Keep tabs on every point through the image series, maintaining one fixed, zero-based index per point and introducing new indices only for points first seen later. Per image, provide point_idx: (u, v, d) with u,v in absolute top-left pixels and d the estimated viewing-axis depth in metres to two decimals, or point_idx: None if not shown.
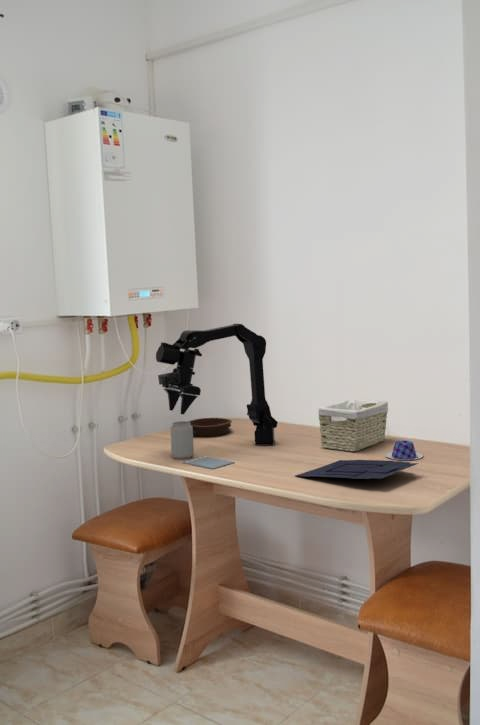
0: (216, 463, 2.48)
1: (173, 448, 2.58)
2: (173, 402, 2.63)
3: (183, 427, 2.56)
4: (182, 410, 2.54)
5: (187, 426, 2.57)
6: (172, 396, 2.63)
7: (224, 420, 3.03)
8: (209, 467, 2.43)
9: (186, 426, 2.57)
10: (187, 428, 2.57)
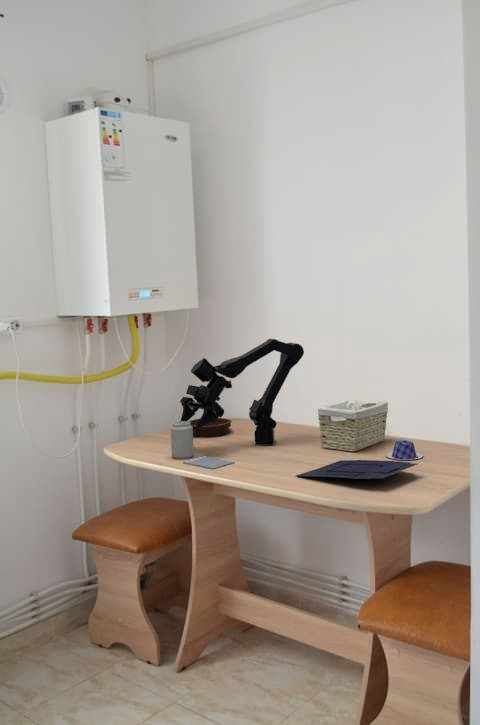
0: (216, 463, 2.48)
1: (173, 448, 2.58)
2: (185, 419, 2.67)
3: (183, 427, 2.56)
4: (198, 424, 2.58)
5: (187, 426, 2.57)
6: (187, 412, 2.67)
7: (224, 420, 3.03)
8: (209, 467, 2.43)
9: (186, 426, 2.57)
10: (187, 428, 2.57)
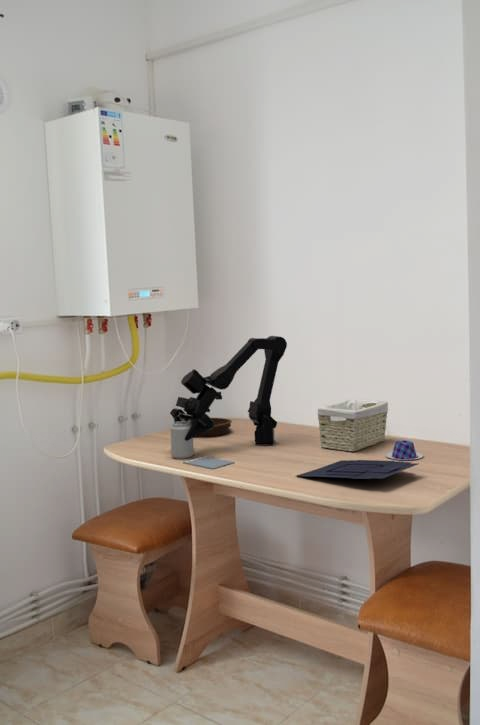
0: (216, 463, 2.48)
1: (173, 448, 2.58)
2: None
3: (183, 427, 2.56)
4: (187, 436, 2.56)
5: (187, 426, 2.57)
6: None
7: (224, 420, 3.03)
8: (209, 467, 2.43)
9: (186, 426, 2.57)
10: (187, 428, 2.57)
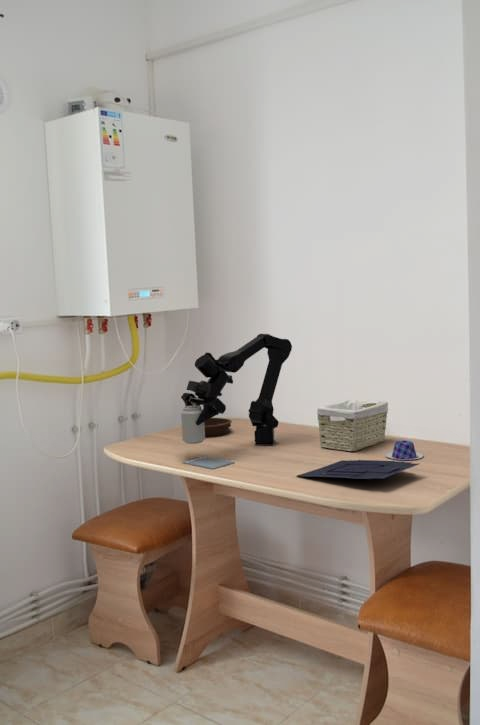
0: (216, 463, 2.48)
1: (184, 433, 2.53)
2: None
3: (194, 411, 2.51)
4: (198, 421, 2.51)
5: (198, 410, 2.52)
6: None
7: (224, 420, 3.03)
8: (209, 467, 2.43)
9: (197, 410, 2.52)
10: (198, 412, 2.51)
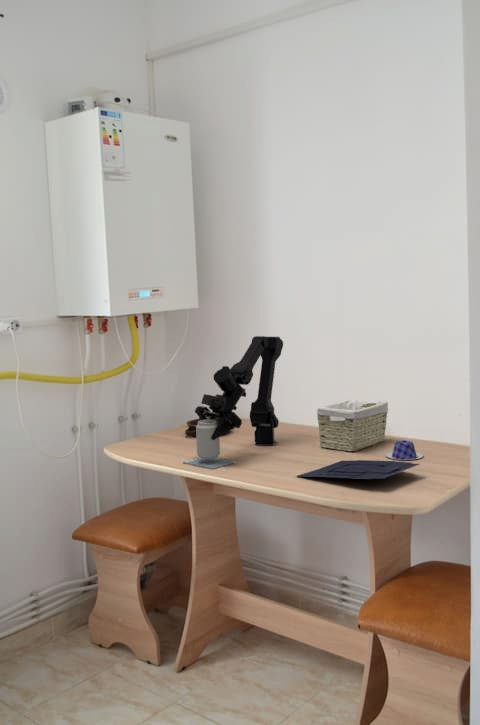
0: (216, 463, 2.48)
1: (199, 447, 2.48)
2: None
3: (209, 426, 2.46)
4: (214, 435, 2.46)
5: (213, 425, 2.47)
6: None
7: None
8: (209, 467, 2.43)
9: (212, 425, 2.47)
10: (213, 427, 2.47)
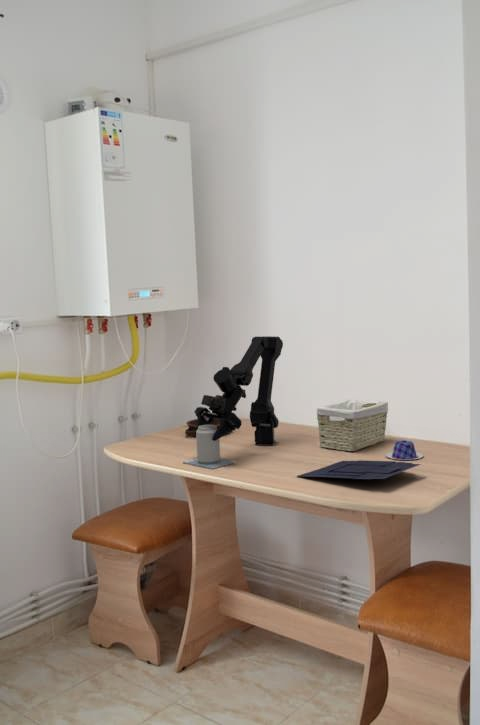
0: (216, 463, 2.48)
1: (199, 452, 2.48)
2: None
3: (210, 431, 2.47)
4: (215, 436, 2.45)
5: (214, 430, 2.47)
6: (202, 423, 2.54)
7: None
8: (209, 467, 2.43)
9: (213, 430, 2.47)
10: (214, 432, 2.47)
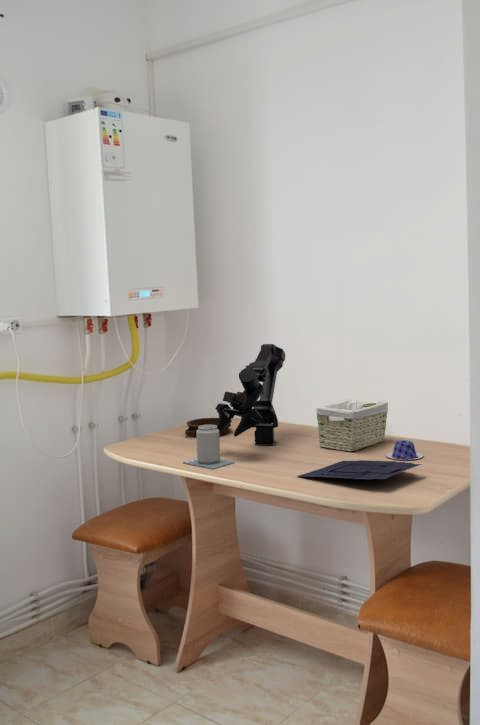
0: (216, 463, 2.48)
1: (199, 452, 2.48)
2: (221, 426, 2.60)
3: (210, 431, 2.47)
4: (236, 432, 2.51)
5: (214, 430, 2.47)
6: (223, 419, 2.60)
7: None
8: (209, 467, 2.43)
9: (213, 430, 2.47)
10: (214, 432, 2.47)
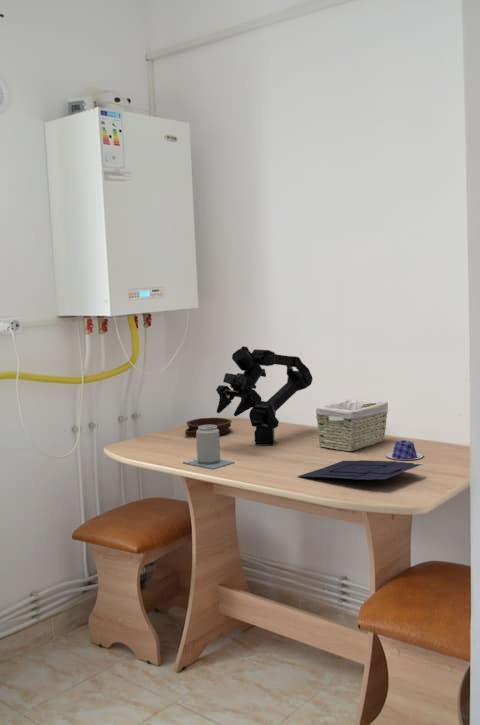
0: (216, 463, 2.48)
1: (199, 452, 2.48)
2: (222, 407, 2.68)
3: (210, 431, 2.47)
4: (236, 412, 2.60)
5: (214, 430, 2.47)
6: (223, 400, 2.69)
7: (224, 420, 3.03)
8: (209, 467, 2.43)
9: (213, 430, 2.47)
10: (214, 432, 2.47)
